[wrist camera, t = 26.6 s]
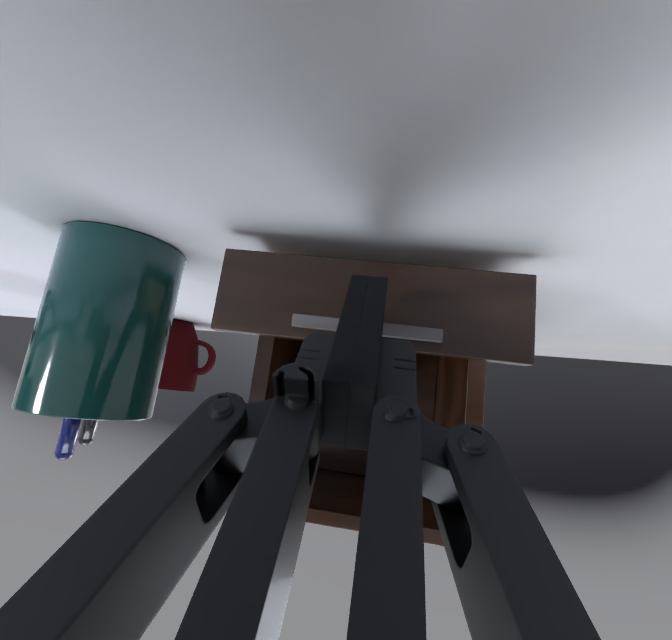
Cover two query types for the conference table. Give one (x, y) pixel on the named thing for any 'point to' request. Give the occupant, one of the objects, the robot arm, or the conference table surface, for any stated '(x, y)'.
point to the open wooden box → (350, 464)
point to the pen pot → (100, 331)
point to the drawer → (400, 309)
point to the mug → (183, 358)
